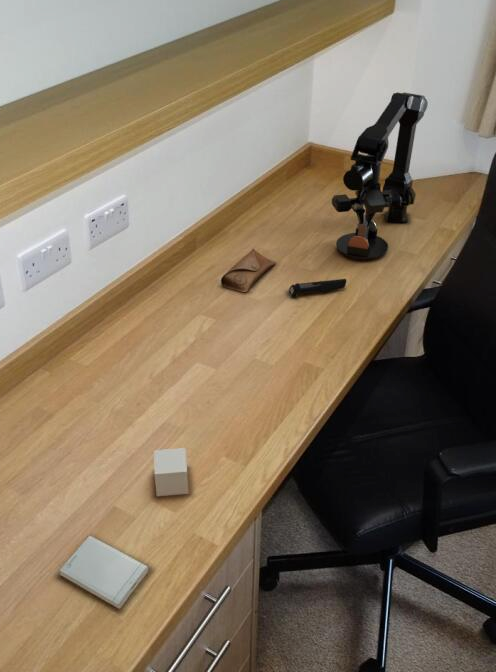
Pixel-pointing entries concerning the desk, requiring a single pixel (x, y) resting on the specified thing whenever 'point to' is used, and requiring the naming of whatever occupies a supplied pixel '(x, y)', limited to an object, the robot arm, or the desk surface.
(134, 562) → the hard drive
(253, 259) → the sunglasses case
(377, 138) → the robot arm
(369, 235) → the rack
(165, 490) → the light grey cube
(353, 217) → the desk surface
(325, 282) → the electric trimmer
